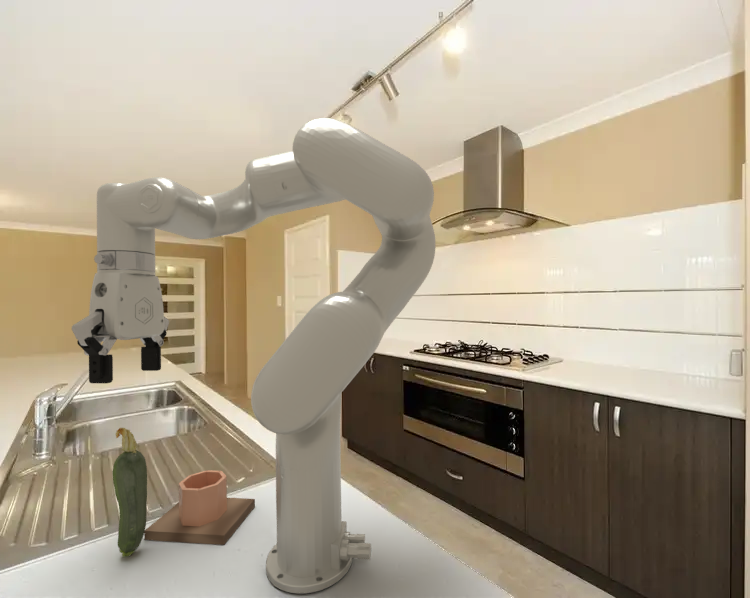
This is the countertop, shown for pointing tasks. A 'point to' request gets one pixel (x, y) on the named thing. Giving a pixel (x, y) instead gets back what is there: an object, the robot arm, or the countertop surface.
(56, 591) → the countertop surface
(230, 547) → the countertop surface
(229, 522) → the stand
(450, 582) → the countertop surface
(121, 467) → the vegetable
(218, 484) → the cup
